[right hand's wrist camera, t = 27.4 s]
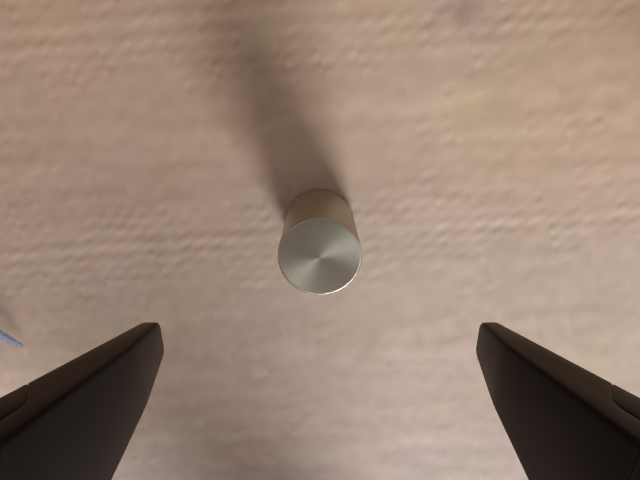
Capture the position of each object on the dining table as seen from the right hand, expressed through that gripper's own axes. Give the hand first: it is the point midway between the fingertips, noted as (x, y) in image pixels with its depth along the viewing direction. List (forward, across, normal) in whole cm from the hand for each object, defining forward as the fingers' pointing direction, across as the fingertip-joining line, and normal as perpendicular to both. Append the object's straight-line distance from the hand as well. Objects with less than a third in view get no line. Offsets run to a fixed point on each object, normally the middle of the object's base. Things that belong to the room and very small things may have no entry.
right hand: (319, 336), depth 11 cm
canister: (+10, 0, 0) cm, 10 cm away
